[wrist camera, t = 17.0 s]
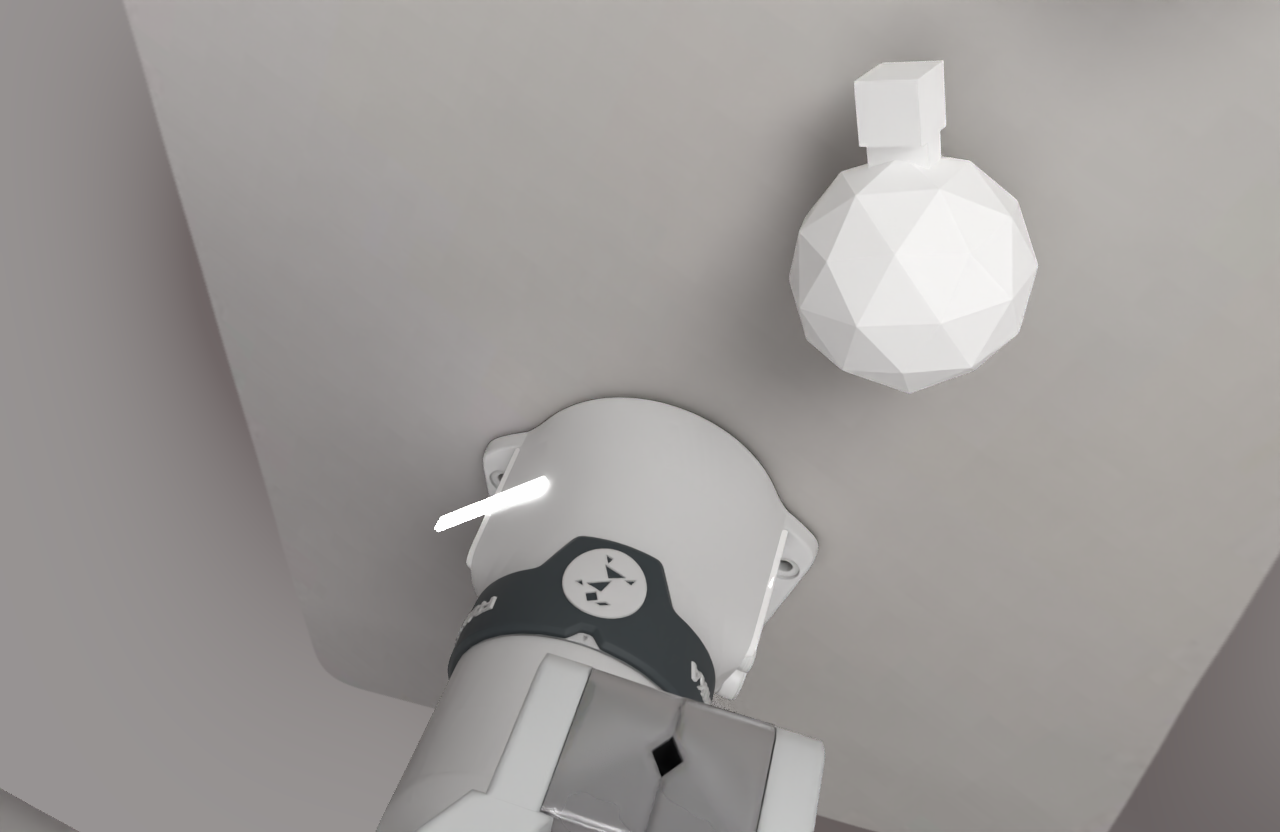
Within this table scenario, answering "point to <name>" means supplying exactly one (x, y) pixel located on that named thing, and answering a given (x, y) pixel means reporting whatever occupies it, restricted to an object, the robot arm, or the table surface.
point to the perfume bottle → (911, 246)
